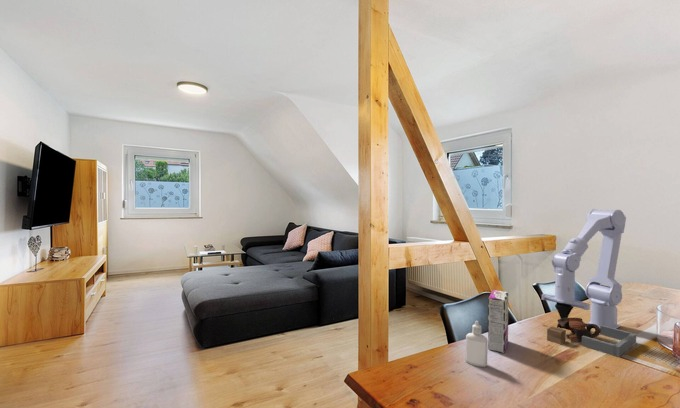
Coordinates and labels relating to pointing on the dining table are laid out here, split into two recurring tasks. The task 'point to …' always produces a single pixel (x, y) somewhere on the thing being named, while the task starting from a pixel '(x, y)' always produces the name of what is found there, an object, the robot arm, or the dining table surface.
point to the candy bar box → (498, 321)
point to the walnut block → (556, 335)
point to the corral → (615, 350)
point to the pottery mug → (578, 328)
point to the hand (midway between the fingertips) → (564, 324)
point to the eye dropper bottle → (476, 347)
